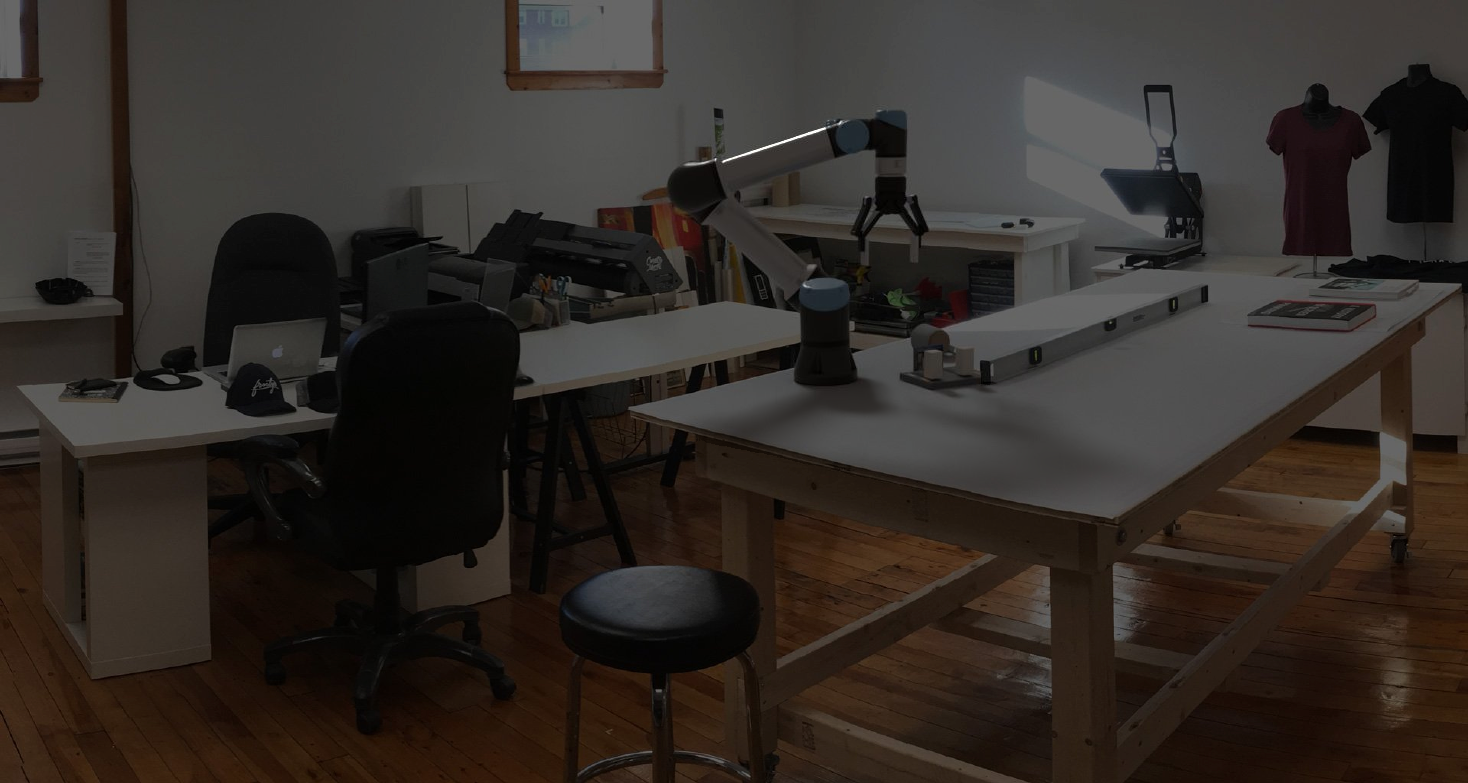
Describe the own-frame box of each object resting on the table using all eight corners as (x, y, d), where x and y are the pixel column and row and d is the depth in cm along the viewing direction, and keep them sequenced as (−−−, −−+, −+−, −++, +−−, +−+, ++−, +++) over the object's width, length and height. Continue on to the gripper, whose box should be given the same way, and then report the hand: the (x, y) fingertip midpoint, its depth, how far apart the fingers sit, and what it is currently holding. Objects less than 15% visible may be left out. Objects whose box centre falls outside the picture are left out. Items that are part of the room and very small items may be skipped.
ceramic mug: (929, 358, 328) (929, 328, 327) (909, 353, 335) (910, 324, 334) (961, 354, 333) (962, 325, 332) (942, 350, 340) (942, 321, 339)
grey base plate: (931, 389, 292) (931, 383, 291) (899, 379, 304) (899, 372, 304) (994, 381, 298) (994, 375, 298) (960, 371, 311) (960, 365, 310)
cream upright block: (931, 379, 294) (931, 352, 293) (924, 376, 297) (924, 350, 295) (942, 377, 295) (942, 351, 294) (935, 375, 298) (935, 349, 297)
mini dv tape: (917, 373, 311) (917, 348, 310) (913, 372, 313) (913, 347, 311) (943, 368, 316) (943, 344, 314) (939, 367, 317) (939, 343, 316)
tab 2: (962, 375, 297) (962, 349, 296) (955, 373, 300) (955, 347, 299) (973, 373, 298) (973, 348, 297) (966, 371, 301) (966, 346, 300)
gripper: (851, 177, 301) (850, 268, 306) (943, 174, 310) (942, 262, 315) (837, 176, 308) (836, 264, 312) (928, 173, 317) (926, 259, 321)
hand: (889, 263), depth 313 cm, fingers open, 13 cm apart
